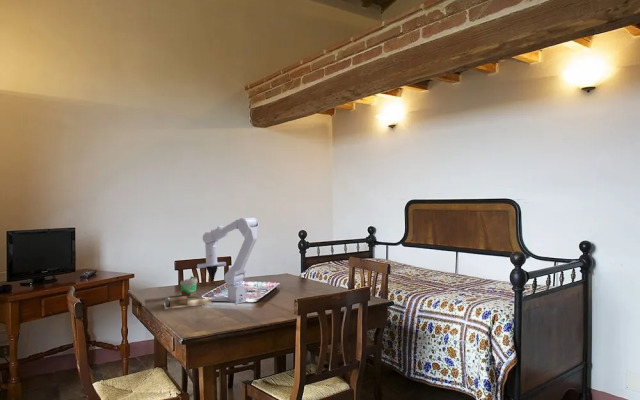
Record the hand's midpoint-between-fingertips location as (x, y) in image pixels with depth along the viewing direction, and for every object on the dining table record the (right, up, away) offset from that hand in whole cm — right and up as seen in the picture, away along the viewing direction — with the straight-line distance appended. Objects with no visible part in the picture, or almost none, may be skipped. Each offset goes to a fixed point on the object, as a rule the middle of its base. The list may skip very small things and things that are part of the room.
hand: (212, 280), depth 238 cm
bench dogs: (-17, -9, -18) cm, 26 cm away
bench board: (-9, -10, -14) cm, 19 cm away
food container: (-12, -10, +5) cm, 16 cm away
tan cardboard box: (-13, -9, -16) cm, 22 cm away
